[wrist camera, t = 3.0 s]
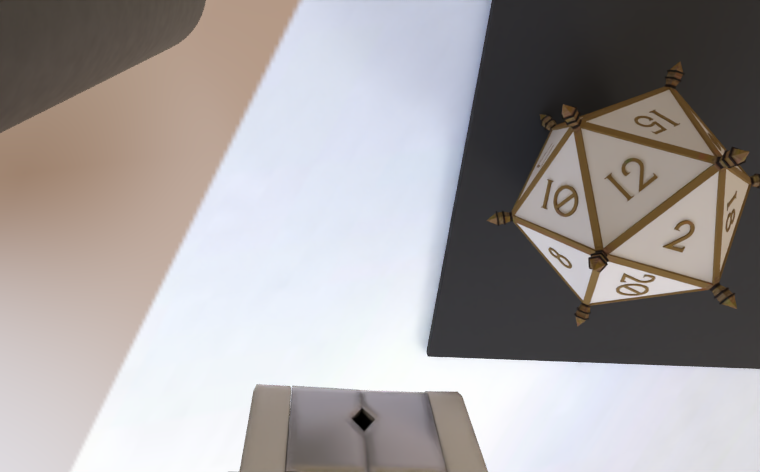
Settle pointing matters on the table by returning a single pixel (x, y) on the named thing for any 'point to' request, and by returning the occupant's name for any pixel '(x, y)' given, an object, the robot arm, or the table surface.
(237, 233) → the table surface
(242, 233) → the table surface
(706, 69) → the mat
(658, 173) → the game die
